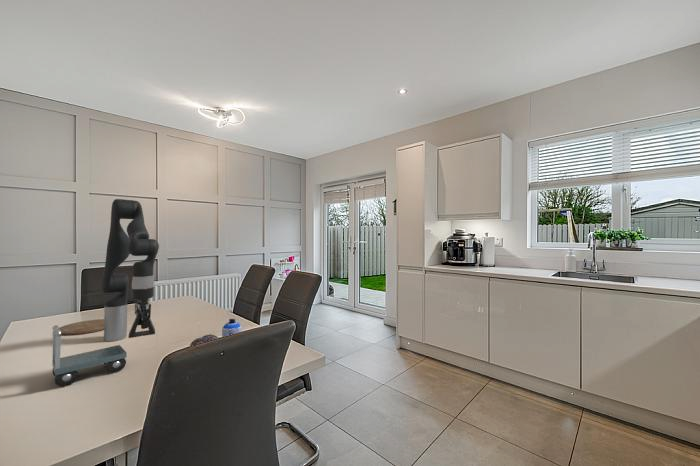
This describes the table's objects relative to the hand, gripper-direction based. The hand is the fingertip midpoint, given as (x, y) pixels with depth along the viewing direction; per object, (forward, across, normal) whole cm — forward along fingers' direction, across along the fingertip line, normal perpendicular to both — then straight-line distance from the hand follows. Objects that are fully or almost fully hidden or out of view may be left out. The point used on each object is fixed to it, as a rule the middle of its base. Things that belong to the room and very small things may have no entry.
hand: (142, 326), depth 121 cm
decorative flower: (+16, +17, +18) cm, 29 cm away
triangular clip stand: (+3, 0, 0) cm, 3 cm away
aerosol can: (+16, +31, +24) cm, 42 cm away
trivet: (+17, -77, -8) cm, 80 cm away
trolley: (+16, -4, -16) cm, 23 cm away
